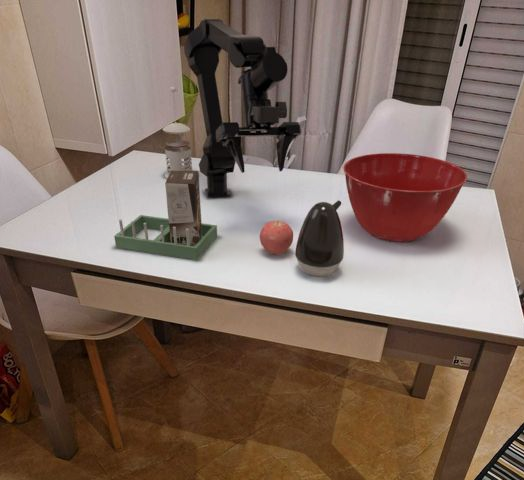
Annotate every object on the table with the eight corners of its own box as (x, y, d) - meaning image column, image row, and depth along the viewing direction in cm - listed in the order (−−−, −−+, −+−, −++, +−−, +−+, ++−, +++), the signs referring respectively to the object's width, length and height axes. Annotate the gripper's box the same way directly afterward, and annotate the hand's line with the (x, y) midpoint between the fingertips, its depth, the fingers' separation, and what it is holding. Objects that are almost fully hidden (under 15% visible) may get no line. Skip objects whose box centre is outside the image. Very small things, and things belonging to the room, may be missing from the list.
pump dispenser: (351, 271, 108) (361, 203, 99) (320, 287, 102) (327, 216, 93) (315, 255, 114) (321, 189, 105) (284, 270, 108) (288, 201, 99)
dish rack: (142, 226, 125) (138, 199, 121) (217, 236, 121) (216, 209, 116) (116, 248, 115) (111, 219, 111) (197, 260, 111) (195, 231, 106)
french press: (160, 179, 153) (150, 88, 138) (171, 167, 162) (163, 81, 147) (190, 181, 152) (184, 90, 137) (200, 169, 161) (196, 83, 146)
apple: (298, 253, 114) (301, 220, 109) (275, 263, 110) (276, 229, 106) (277, 242, 119) (278, 210, 114) (253, 251, 115) (254, 218, 110)
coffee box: (199, 254, 113) (194, 183, 103) (170, 253, 113) (163, 182, 103) (203, 237, 120) (199, 169, 111) (176, 236, 120) (170, 169, 111)
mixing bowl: (324, 244, 119) (331, 179, 109) (349, 203, 140) (356, 146, 131) (446, 265, 111) (465, 197, 102) (453, 219, 133) (469, 159, 123)
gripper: (224, 84, 100) (232, 164, 103) (308, 86, 106) (314, 162, 108) (211, 103, 111) (219, 176, 113) (289, 104, 116) (294, 173, 119)
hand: (262, 171), depth 113 cm, fingers open, 9 cm apart
